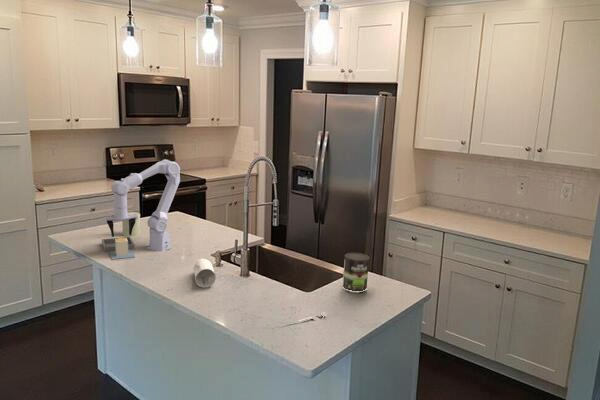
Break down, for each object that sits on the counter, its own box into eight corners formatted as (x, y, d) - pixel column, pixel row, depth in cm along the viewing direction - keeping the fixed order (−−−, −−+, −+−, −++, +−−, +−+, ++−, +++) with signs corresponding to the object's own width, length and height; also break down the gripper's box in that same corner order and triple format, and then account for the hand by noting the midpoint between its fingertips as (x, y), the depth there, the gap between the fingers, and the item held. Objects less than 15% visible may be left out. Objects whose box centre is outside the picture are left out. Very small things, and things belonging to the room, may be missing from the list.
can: (137, 238, 250) (136, 216, 247) (119, 237, 250) (118, 215, 247) (143, 233, 259) (142, 211, 256) (126, 232, 259) (125, 210, 256)
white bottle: (210, 270, 210) (211, 253, 208) (215, 287, 192) (215, 268, 191) (192, 271, 208) (192, 254, 206) (195, 288, 190) (195, 269, 188)
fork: (275, 327, 163) (275, 322, 163) (323, 314, 173) (324, 310, 173) (280, 331, 160) (280, 326, 160) (328, 318, 171) (329, 313, 170)
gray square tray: (130, 242, 242) (130, 236, 242) (134, 250, 231) (134, 244, 230) (101, 245, 236) (101, 239, 235) (104, 253, 224) (104, 247, 224)
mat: (131, 252, 228) (131, 250, 228) (135, 258, 219) (134, 256, 219) (109, 254, 223) (109, 252, 223) (111, 261, 215) (111, 259, 215)
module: (126, 252, 225) (126, 237, 223) (128, 255, 221) (127, 240, 219) (115, 253, 223) (114, 238, 221) (116, 256, 218) (116, 241, 217)
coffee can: (370, 293, 194) (373, 260, 192) (346, 293, 192) (348, 260, 189) (362, 283, 204) (364, 252, 201) (339, 284, 202) (341, 252, 199)
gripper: (135, 204, 226) (136, 231, 229) (102, 206, 219) (103, 234, 222) (138, 207, 220) (138, 235, 223) (104, 209, 213) (105, 238, 216)
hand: (121, 235), depth 222 cm, fingers open, 7 cm apart
